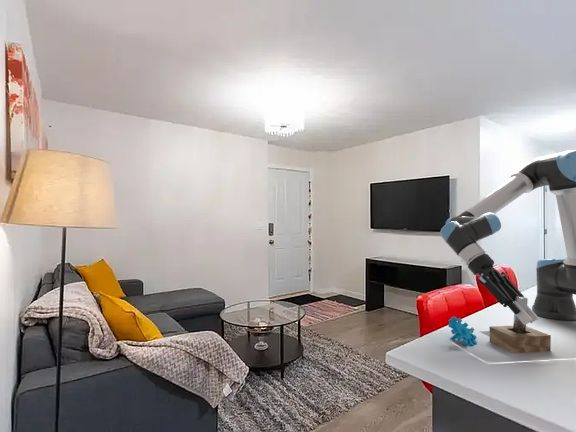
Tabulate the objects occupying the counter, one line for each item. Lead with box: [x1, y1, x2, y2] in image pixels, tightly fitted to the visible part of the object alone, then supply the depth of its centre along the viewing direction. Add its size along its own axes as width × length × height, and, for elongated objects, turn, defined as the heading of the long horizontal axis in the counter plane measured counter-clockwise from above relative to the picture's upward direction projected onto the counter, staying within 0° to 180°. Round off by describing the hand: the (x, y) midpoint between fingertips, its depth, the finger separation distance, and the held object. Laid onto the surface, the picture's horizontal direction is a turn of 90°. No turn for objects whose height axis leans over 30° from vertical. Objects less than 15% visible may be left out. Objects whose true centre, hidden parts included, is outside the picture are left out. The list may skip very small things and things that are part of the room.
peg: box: [512, 296, 529, 334], centre depth 106 cm, size 3×3×11 cm
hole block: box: [489, 325, 552, 354], centre depth 107 cm, size 12×10×5 cm
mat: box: [479, 330, 490, 338], centre depth 117 cm, size 10×8×1 cm
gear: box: [448, 316, 478, 347], centre depth 112 cm, size 11×6×10 cm
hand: (531, 321), depth 104 cm, fingers closed on peg, 3 cm apart
